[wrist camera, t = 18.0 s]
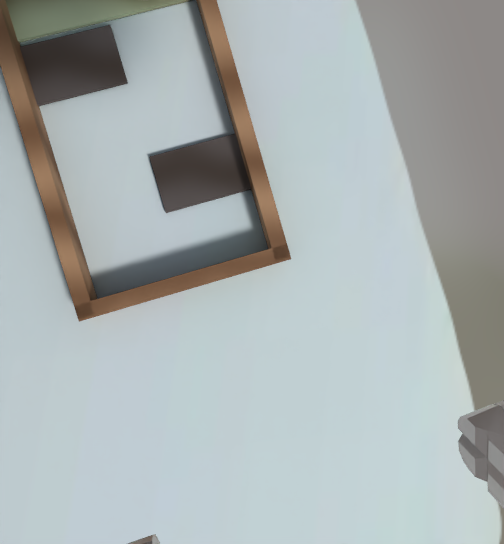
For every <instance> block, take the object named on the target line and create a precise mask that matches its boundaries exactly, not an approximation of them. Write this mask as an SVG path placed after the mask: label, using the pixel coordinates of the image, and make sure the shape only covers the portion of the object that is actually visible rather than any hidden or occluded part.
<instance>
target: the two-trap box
mask: <svg viewBox="0 0 504 544" xmlns="http://www.w3.org/2000/svg"><path fill="white" fill-rule="evenodd" d="M188 1H192V0H0V66H1V69H2V72H3V75H4V79H5V82H6V85H7V88H8V92H9V95H10V98H11V101H12V105H13V108H14V111H15V114H16V118H17V121H18V124H19V127H20V131H21V134H22V137H23V141H24V144H25V147H26V150H27V154H28V157H29V160H30V163H31V167H32V170H33V173H34V176H35V180H36V183H37V186H38V189H39V193H40V196H41V199H42V202H43V206H44V209H45V212H46V215H47V219H48V222H49V225H50V228H51V232H52V235H53V238H54V241H55V245H56V248H57V251H58V255H59V258H60V261H61V264H62V268H63V271H64V274H65V277H66V281H67V284H68V287H69V290H70V294H71V297H72V300H73V303H74V307H75V310H76V313H77V316H78V320H79V321H82V320H86V319H89V318H92V317H96V316H99V315H103V314H106V313H109V312H113V311H116V310H119V309H123V308H126V307H130V306H133V305H136V304H140V303H143V302H147V301H150V300H153V299H157V298H160V297H164V296H167V295H170V294H174V293H177V292H181V291H184V290H187V289H191V288H194V287H198V286H201V285H204V284H208V283H211V282H215V281H218V280H221V279H225V278H228V277H232V276H235V275H238V274H242V273H245V272H248V271H252V270H255V269H259V268H262V267H265V266H269V265H272V264H276V263H279V262H282V261H286V260H289V259H291V257H290V253H289V250H288V246H287V243H286V239H285V236H284V232H283V229H282V226H281V222H280V219H279V215H278V212H277V208H276V205H275V201H274V198H273V194H272V191H271V187H270V184H269V181H268V177H267V174H266V170H265V167H264V163H263V160H262V156H261V153H260V149H259V146H258V142H257V139H256V135H255V132H254V129H253V125H252V122H251V118H250V115H249V111H248V108H247V104H246V101H245V97H244V94H243V90H242V87H241V84H240V80H239V77H238V73H237V70H236V66H235V63H234V59H233V56H232V52H231V49H230V45H229V42H228V39H227V35H226V32H225V28H224V25H223V21H222V18H221V14H220V11H219V7H218V4H217V0H196V1H197V4H198V8H199V11H200V15H201V18H202V21H203V25H204V28H205V32H206V35H207V39H208V42H209V46H210V49H211V52H212V56H213V59H214V63H215V66H216V70H217V73H218V77H219V80H220V83H221V87H222V90H223V94H224V97H225V101H226V104H227V108H228V111H229V114H230V118H231V121H232V125H233V128H234V132H235V134H232V135H228V136H225V137H221V138H217V139H213V140H210V141H206V142H202V143H199V144H195V145H191V146H188V147H184V148H180V149H176V150H173V151H169V152H165V153H162V154H158V155H154V156H150V157H149V158H150V161H151V164H152V168H153V171H154V174H155V178H156V181H157V184H158V188H159V191H160V195H161V198H162V201H163V205H164V208H165V211H166V213H168V212H172V211H175V210H179V209H182V208H186V207H189V206H193V205H197V204H200V203H204V202H207V201H211V200H214V199H218V198H222V197H225V196H229V195H232V194H236V193H239V192H243V191H247V190H250V189H251V190H252V194H253V197H254V201H255V204H256V207H257V211H258V214H259V218H260V221H261V225H262V228H263V232H264V235H265V238H266V242H267V245H268V249H267V250H264V251H260V252H257V253H253V254H250V255H247V256H243V257H240V258H236V259H233V260H230V261H226V262H223V263H219V264H216V265H212V266H209V267H206V268H202V269H199V270H195V271H192V272H188V273H185V274H182V275H178V276H175V277H171V278H168V279H164V280H161V281H158V282H154V283H151V284H147V285H144V286H140V287H137V288H134V289H130V290H127V291H123V292H120V293H116V294H113V295H110V296H106V297H103V298H99V299H97V295H96V292H95V289H94V286H93V282H92V279H91V276H90V273H89V269H88V266H87V263H86V259H85V256H84V253H83V250H82V246H81V243H80V240H79V236H78V233H77V230H76V227H75V223H74V220H73V217H72V213H71V210H70V207H69V204H68V200H67V197H66V194H65V191H64V187H63V184H62V181H61V177H60V174H59V171H58V168H57V164H56V161H55V158H54V154H53V151H52V148H51V145H50V141H49V138H48V135H47V132H46V128H45V125H44V122H43V118H42V115H41V112H40V109H39V106H41V105H45V104H49V103H53V102H57V101H61V100H65V99H69V98H73V97H77V96H80V95H84V94H88V93H92V92H96V91H100V90H104V89H108V88H112V87H116V86H119V85H123V84H127V79H126V76H125V73H124V69H123V66H122V62H121V59H120V56H119V52H118V49H117V46H116V42H115V39H114V36H113V32H112V29H111V26H110V25H108V26H104V27H99V28H95V29H91V30H87V31H83V32H79V33H75V34H71V35H67V36H63V37H59V38H55V39H51V40H47V41H42V42H38V43H34V44H30V45H26V46H22V47H21V46H20V42H24V41H28V40H32V39H36V38H41V37H45V36H49V35H53V34H57V33H61V32H65V31H69V30H73V29H77V28H81V27H86V26H90V25H94V24H98V23H102V22H106V21H110V20H114V19H118V18H122V17H126V16H130V15H135V14H139V13H143V12H147V11H151V10H155V9H159V8H163V7H167V6H171V5H175V4H179V3H184V2H188Z"/></svg>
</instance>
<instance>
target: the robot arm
mask: <svg viewBox="0 0 504 544" xmlns="http://www.w3.org/2000/svg"><path fill="white" fill-rule="evenodd" d="M458 429H459V430H460V431H461V432H462V433H463V434H462V435H461V437H460V439H459V441H458V444H459V452H460V454H461V457H462V459H463V461H464V463H465V464H466V466H467V467H468V469H469V470H470V471H471V472H472V474H473V475H474V476H475V477H477V478H479V479H482V480H484V481H487V486H488V492H489V493H490V494H491V495H492V496H493V497H494V498H495V499H496V500H497V501H498V503H499V504H500V505H501V506H502V507H503V508H504V401H500V402H498V403H495V404H493V405H489V406H486V407H484V408H481V409H479V410H476V411H474V412H471V413H469V414H466V415H464V416H461V417H460V418H459V420H458ZM128 544H160V542H159V540H158V538H157V536H156V534H154V535H151V536H148V537H145V538H142V539H139V540H136V541H134V542H131V543H128Z"/></svg>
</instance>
